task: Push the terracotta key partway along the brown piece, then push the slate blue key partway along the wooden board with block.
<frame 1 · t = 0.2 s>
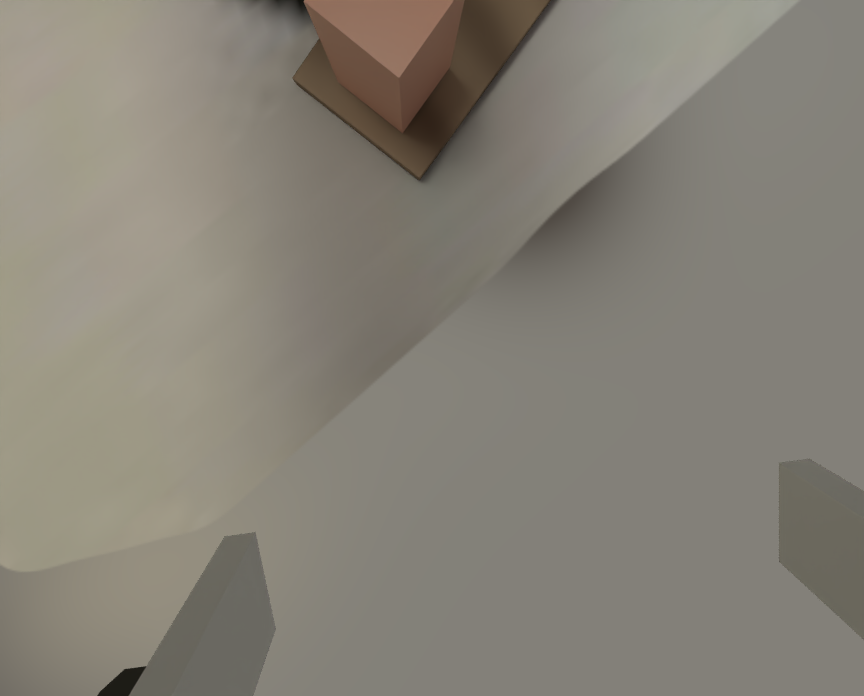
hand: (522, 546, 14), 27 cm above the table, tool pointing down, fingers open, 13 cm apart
brown piece: (395, 82, 38), on the table
terracotta key: (391, 40, 31), point 8 cm above the table, slide at 0.0 cm
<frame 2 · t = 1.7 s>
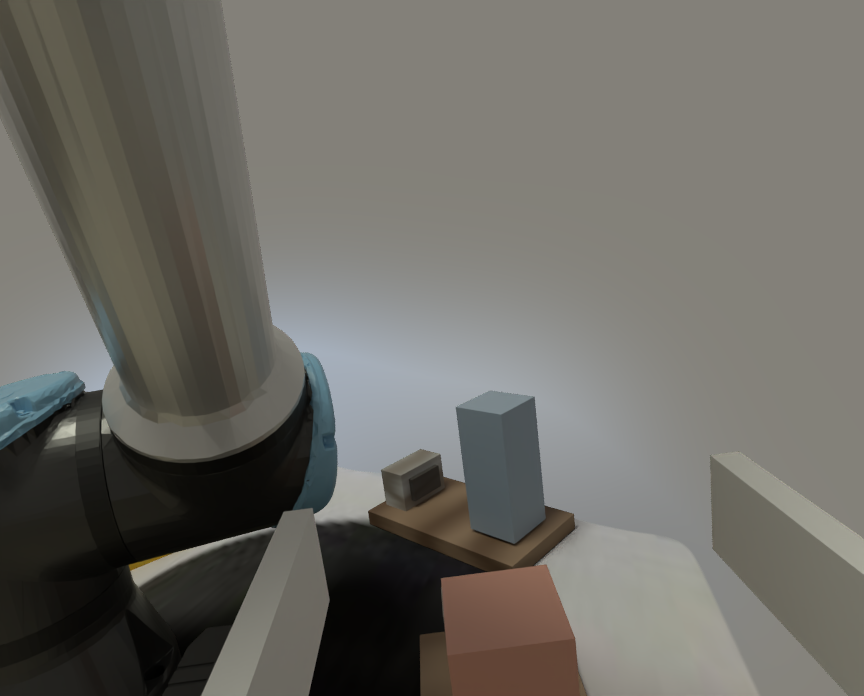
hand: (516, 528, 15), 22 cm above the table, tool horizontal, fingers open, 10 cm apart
wooden board with block: (510, 540, 55), on the table
slate blue key: (501, 464, 53), point 8 cm above the table, slide at 0.0 cm
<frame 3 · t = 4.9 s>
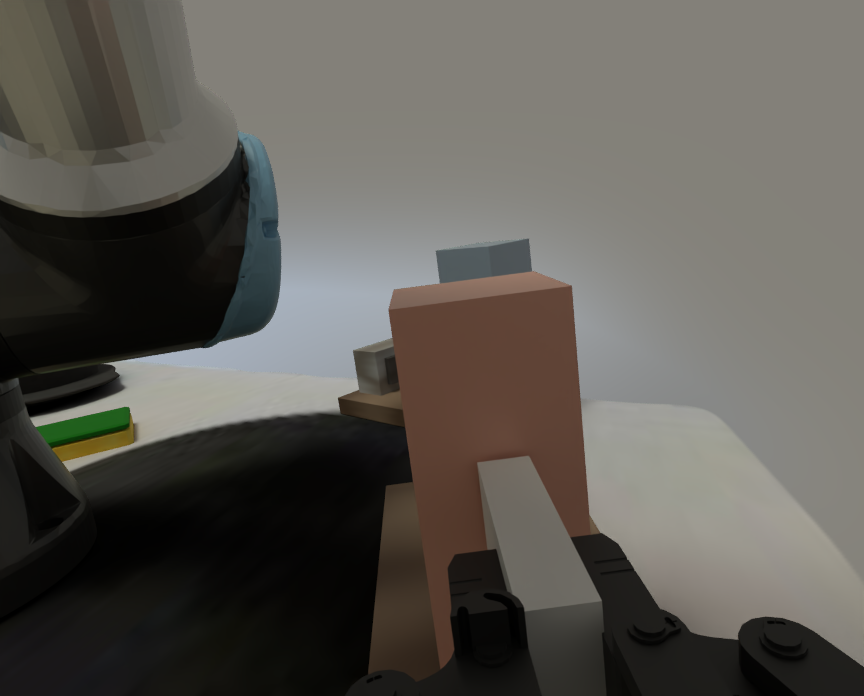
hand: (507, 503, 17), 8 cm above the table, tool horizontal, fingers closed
brown piece: (520, 693, 20), on the table
wooden board with block: (500, 417, 47), on the table
dish sponge: (51, 460, 53), on the table
casserole: (41, 399, 77), on the table
slate blue key: (490, 322, 45), point 8 cm above the table, slide at 0.0 cm
terracotta key: (491, 466, 19), point 8 cm above the table, slide at 1.3 cm, touching gripper
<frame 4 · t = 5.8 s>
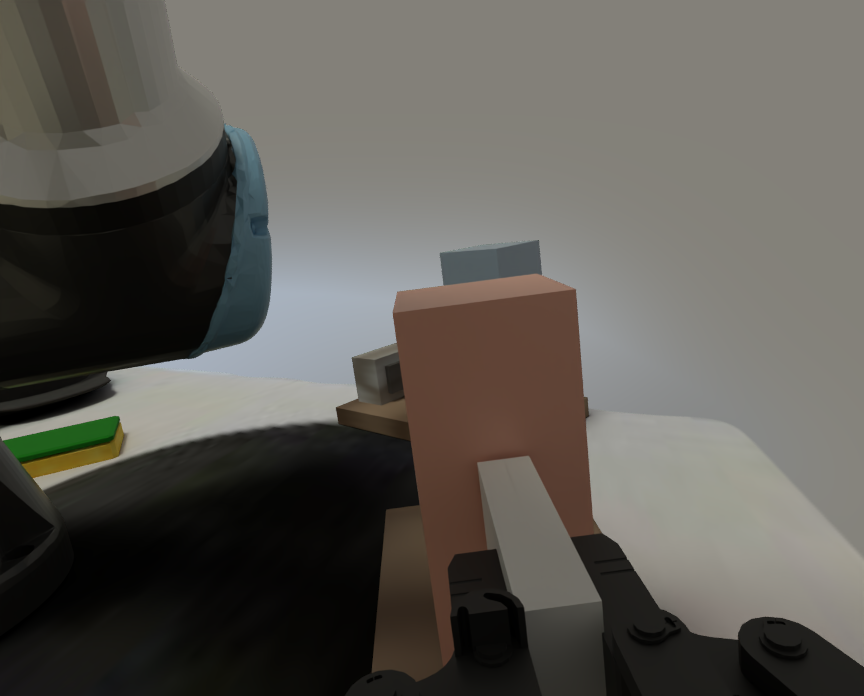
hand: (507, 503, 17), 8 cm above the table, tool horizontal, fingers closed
wooden board with block: (508, 429, 44), on the table
dish sponge: (34, 472, 50), on the table
casserole: (29, 405, 74), on the table
slate blue key: (497, 329, 42), point 8 cm above the table, slide at 0.0 cm
terracotta key: (494, 468, 19), point 8 cm above the table, slide at 4.1 cm, touching gripper
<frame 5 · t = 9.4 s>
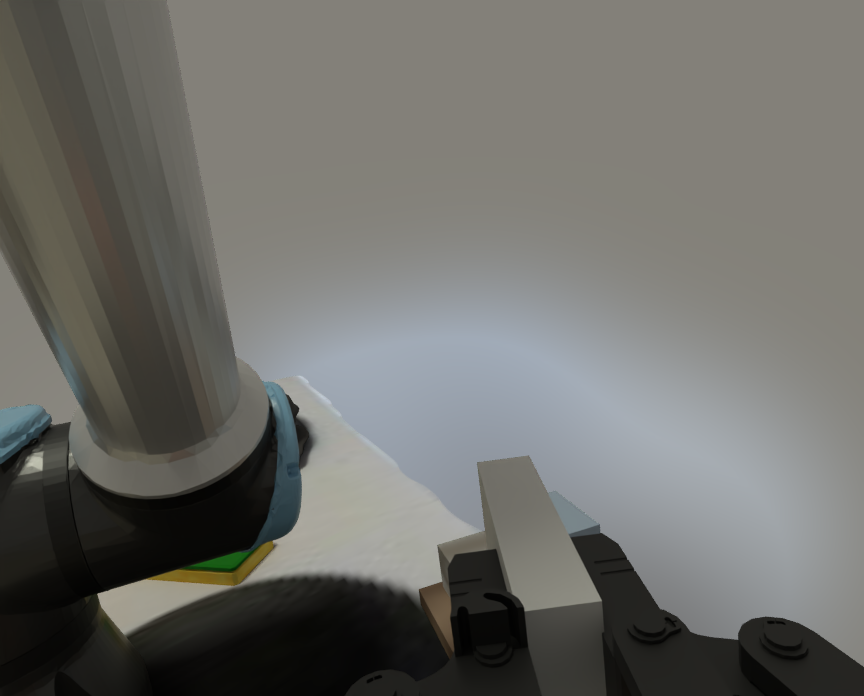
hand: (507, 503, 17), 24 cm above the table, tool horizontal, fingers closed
dish sponge: (202, 566, 63), on the table
casserole: (251, 458, 91), on the table
slate blue key: (548, 603, 37), point 8 cm above the table, slide at 0.0 cm
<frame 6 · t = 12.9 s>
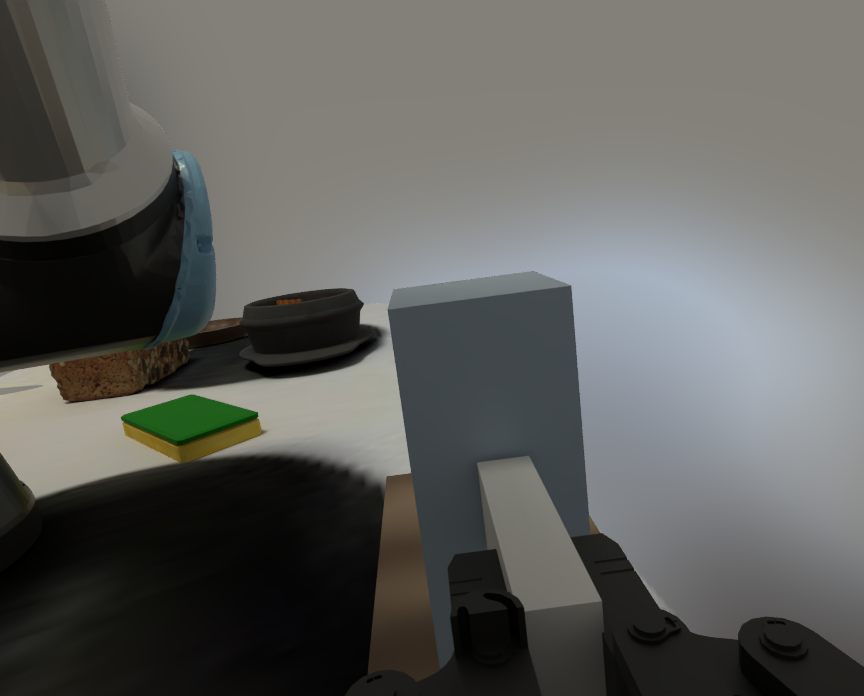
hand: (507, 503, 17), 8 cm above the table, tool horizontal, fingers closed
wooden board with block: (513, 666, 21), on the table
dish sponge: (192, 440, 53), on the table
casserole: (310, 357, 82), on the table
plant saucer: (206, 342, 108), on the table
slate blue key: (490, 466, 19), point 8 cm above the table, slide at 0.0 cm, touching gripper
bread: (134, 383, 80), on the table
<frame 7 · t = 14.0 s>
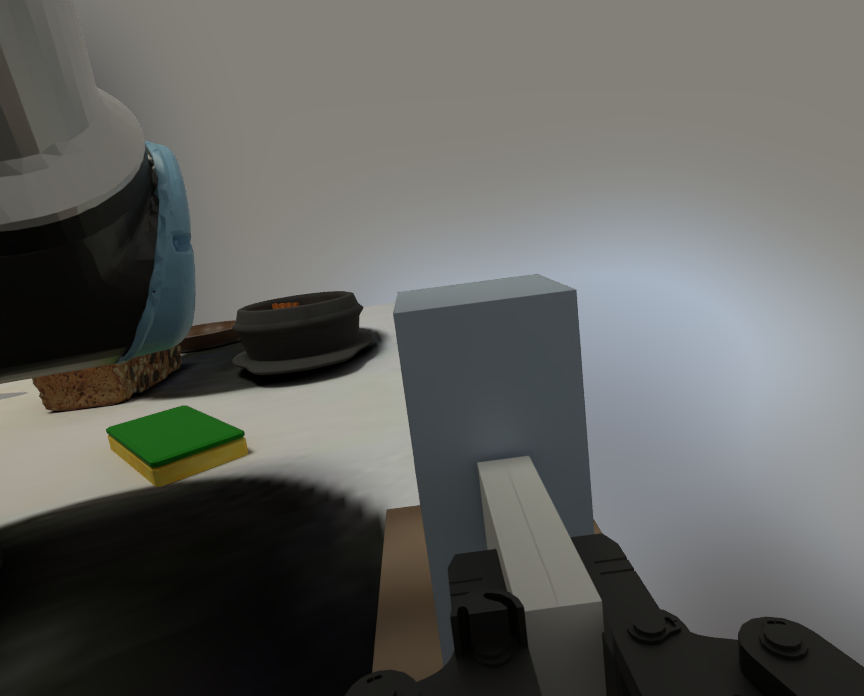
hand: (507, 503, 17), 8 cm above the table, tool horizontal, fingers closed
dish sponge: (177, 457, 49), on the table
casserole: (307, 363, 78), on the table
plant saucer: (200, 346, 104), on the table
slate blue key: (494, 468, 19), point 8 cm above the table, slide at 4.0 cm, touching gripper
bread: (122, 390, 76), on the table
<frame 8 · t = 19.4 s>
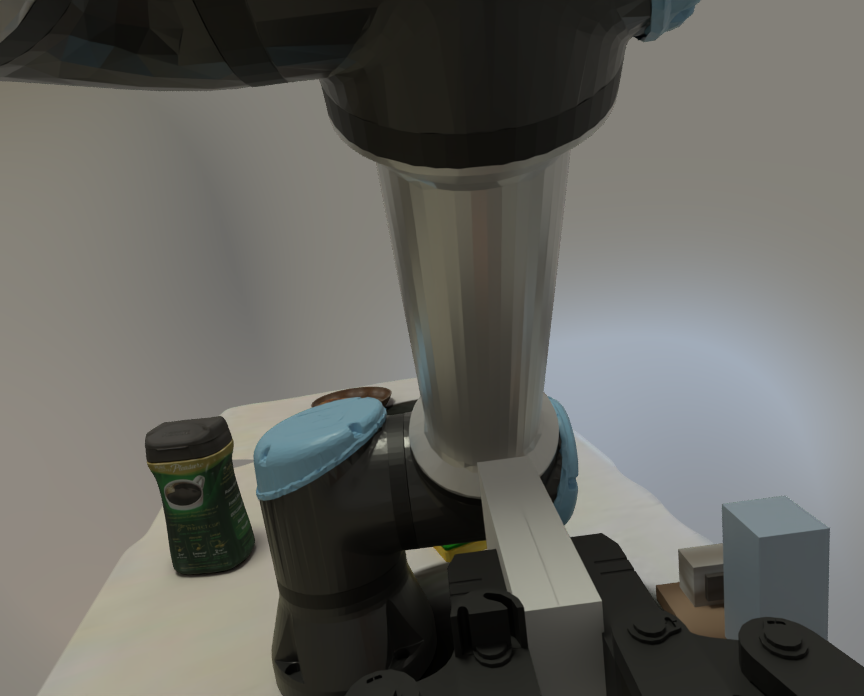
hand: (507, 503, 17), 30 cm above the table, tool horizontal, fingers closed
dish sponge: (450, 532, 74), on the table
plant saucer: (353, 411, 129), on the table
slate blue key: (773, 586, 44), point 8 cm above the table, slide at 4.0 cm
coffee jar: (216, 560, 74), on the table
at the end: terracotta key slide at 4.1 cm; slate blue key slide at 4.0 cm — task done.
